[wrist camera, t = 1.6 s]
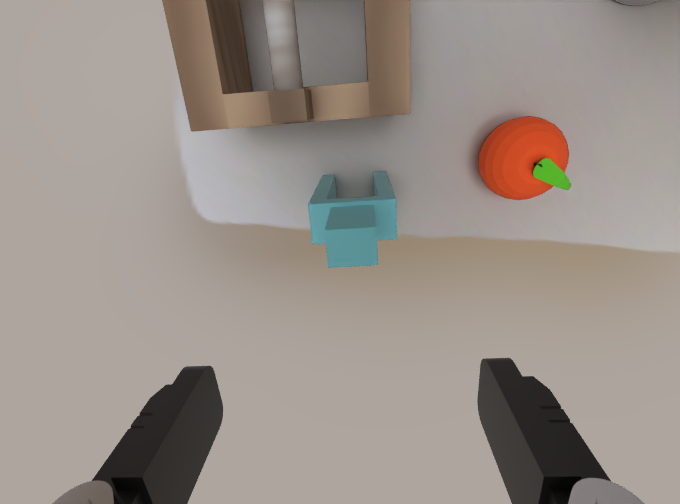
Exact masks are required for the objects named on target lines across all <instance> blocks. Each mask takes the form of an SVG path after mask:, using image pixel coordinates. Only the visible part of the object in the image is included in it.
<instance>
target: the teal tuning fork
mask: <svg viewBox="0 0 680 504" xmlns="http://www.w3.org/2000/svg"><path fill="white" fill-rule="evenodd" d="M373 180H374V196H370V197H355V198H339V199H337V196H336V184H335V175H323V176H322V178H321V180H320V182H319V184H318V186H317V188H316V190H315V192H314V194H313V196H312V198H311V200H310V202H309V204H308V209H309V217H310V226H311V235H312V243H313V244H321V243H326V249H327V258H328V267H329V268H331V267H351V266H371V265H378V254H377V240H393V239H397V216H396V197H395V195H394V192H393V189H392V187H391V184H390V182H389V179H388V176H387V174H386V171H378V172H373Z"/></svg>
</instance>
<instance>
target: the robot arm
mask: <svg viewBox="0 0 680 504" xmlns="http://www.w3.org/2000/svg"><path fill="white" fill-rule="evenodd" d="M615 1H617V2H619V3H622V4H626V5H634V6H636V5H645V4H650V3H653V2H656V1H659V0H615ZM478 411H479V416H480V420H481V423H482V426H483V429H484V431H485V434H486V436H487V439H488V442H489V444H490V447H491V449H492V452H493V455H494V457H495V460H496V463H497V465H498V468H499V471H500V473H501V476H502V478H503V481H504V484H505V486H506V488H507V492H508V494H509V497H510V499H511V502H512V504H644V503H643V502H642V501H641V500H640V499H639V498H638V497H636V496H635V495H634V494H633V493H631V492H630V491H628V490H626V489H625V488H623V487H622V486H620V485H618V484H615V483H613V482H611V480H610V479H609V478H608V476H607V475H606V473H605V472H604V470H603V469H602V467H601V466H600V464H599V463H598V462H597V460H596V458H595V457H594V455H593V454H592V452H591V451H590V449H589V448H588V446H587V445H586V443H585V442H584V440H583V439H582V437H581V436H580V434H579V433H578V431H577V430H576V428H575V427H574V425H573V424H572V423H570V419H569V418H568V416H567V415H566V413H565V412H564V410H563V409H561V406H560V404H559V403H558V401H557V400H556V398H555V397H554V395H553V394H552V392H551V391H550V389H548V388H547V387H546V386H544V385H543V384H542V383H541V382H540V381H538V380H537V379H536V378H535V377H533V376H529V377H522V375H521V374H520V372H519V370H518V368H517V367H516V365H515V364H514V362H513V360H511V359H510V358H494V359H482V361H481V366H480V378H479V390H478ZM222 417H223V404H222V400H221V396H220V392H219V389H218V384H217V380H216V377H215V373H214V370H213V368H212V367H211V366H190V367H185V368H183V369H182V371H181V372H180V374H179V375H178V376H177V378H176V380H175V381H174V383H173V384H172V385H165V386H164V387H163V388H162V389H161V390H159V391H158V392H157V393H156V394H155V395H154V396H152V397H151V398H150V399H149V401H148V402H147V404H146V405H145V406H144V408H143V409H142V411H141V412H140V416H137V418H136V419H135V420H134V422H133V423H132V425H131V428H130V429H128V430H127V432H126V433H125V435H124V436H123V437H122V439H121V440H120V442H119V443H118V445H117V446H116V447H115V449H114V450H113V452H112V453H111V455H110V456H109V457H108V459H107V460H106V462H105V463H104V464H103V466H102V467H101V469H100V470H99V471H98V473H97V474H96V476H95V477H94V478H93V480H92V481H90V482H86V483H83V484H81V485H78V486H76V487H74V488H73V489H71V490H69V491H68V492H66V493H65V494H63V495H62V496H61V497H60V498H58V499H57V500H56V501H55V502H54V503H53V504H187V503H188V500H189V498H190V496H191V493H192V491H193V489H194V486H195V484H196V482H197V479H198V477H199V475H200V472H201V470H202V468H203V465H204V463H205V461H206V458H207V456H208V454H209V451H210V449H211V447H212V444H213V442H214V440H215V437H216V435H217V433H218V430H219V428H220V426H221V422H222Z"/></svg>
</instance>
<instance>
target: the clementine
mask: <svg viewBox="0 0 680 504" xmlns="http://www.w3.org/2000/svg"><path fill="white" fill-rule="evenodd" d="M568 157H569V150H568V145H567V141H566V139H565V137H564V135H563V133H562V131H561V130H560V129H559V128H558V127H557V126H556V125H554V124H553V123H551V122H548V121H546V120H544V119H542V118H538V117H531V116H528V117H520V118H515V119H512V120H510V121H507V122H505V123H503V124H501V125H500V126H499V127H497V128H496V129H494V130H493V132H492V133H491V134H490V135H489V136H488V137H487V138H486V140H485V142H484V144H483V146H482V148H481V151H480V155H479V170H480V174H481V177H482V179H483V180H484V182H485V183H486V185H487V186H488V187H489V188H490V189H491V190H492V191H493V192H494V193H496V194H498V195H500V196H502V197H505V198H509V199H516V200H522V199H529V198H532V197H535V196H538V195H540V194H543V193H544V192H546V191H548V190H549V189H551V188H552V187H553V186H556V187H559V188H562V189H565V190H569V188H570V187H571V183H570V181H569V179H568V178H567V176H566V175H565V174H564V172H565V169H566V166H567V164H568Z"/></svg>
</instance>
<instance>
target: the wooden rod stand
mask: <svg viewBox="0 0 680 504" xmlns="http://www.w3.org/2000/svg"><path fill="white" fill-rule="evenodd" d="M162 1H163V6H164V10H165V15H166V19H167V24H168V28H169V33H170V37H171V42H172V46H173V51H174V55H175V60H176V65H177V69H178V74H179V78H180V83H181V87H182V92H183V96H184V101H185V105H186V110H187V114H188V119H189V124H190V128H191V131H203V130H215V129H228V128H240V127H253V126H265V125H277V124H290V123H302V122H314V121H327V120H339V119H352V118H364V117H376V116H389V115H401V114H410V0H364V12H365V35H366V57H367V80H368V82H359V83H347V84H336V85H325V86H313V87H303V83H302V74H301V65H300V55H299V46H298V36H297V27H296V17H295V8H294V0H262V1H263V8H264V16H265V23H266V31H267V38H268V46H269V53H270V61H271V68H272V76H273V83H274V90H268V91H257V92H253V89H252V82H251V75H250V69H249V62H248V56H247V49H246V43H245V36H244V30H243V23H242V17H241V10H240V4H239V0H162Z"/></svg>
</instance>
